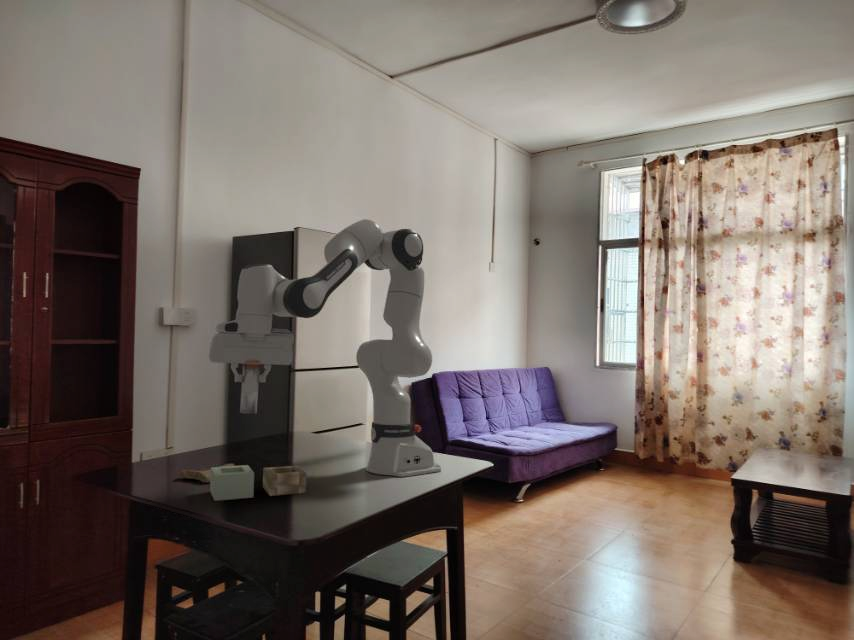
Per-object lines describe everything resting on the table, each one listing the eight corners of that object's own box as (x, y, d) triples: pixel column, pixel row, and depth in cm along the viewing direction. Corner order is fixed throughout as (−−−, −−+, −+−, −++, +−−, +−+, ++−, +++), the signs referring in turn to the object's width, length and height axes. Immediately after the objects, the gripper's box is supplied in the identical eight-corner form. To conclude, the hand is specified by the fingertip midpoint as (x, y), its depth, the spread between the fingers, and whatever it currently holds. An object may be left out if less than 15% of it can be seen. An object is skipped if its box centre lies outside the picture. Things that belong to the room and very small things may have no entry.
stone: (176, 480, 166) (176, 468, 166) (228, 471, 178) (228, 460, 178) (196, 487, 159) (196, 475, 159) (249, 477, 170) (249, 466, 171)
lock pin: (256, 411, 157) (259, 360, 157) (260, 413, 152) (263, 361, 153) (236, 411, 154) (239, 359, 155) (239, 413, 150) (243, 360, 151)
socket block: (246, 488, 158) (247, 465, 158) (253, 497, 150) (254, 472, 150) (210, 491, 154) (210, 467, 154) (214, 500, 146) (215, 475, 146)
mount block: (297, 484, 163) (297, 465, 164) (305, 492, 155) (306, 472, 155) (262, 487, 159) (263, 467, 160) (269, 495, 151) (270, 475, 151)
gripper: (291, 329, 162) (288, 382, 161) (210, 324, 153) (206, 380, 152) (297, 329, 156) (294, 383, 155) (213, 324, 147) (209, 382, 146)
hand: (250, 382), depth 154 cm, fingers closed on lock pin, 4 cm apart
